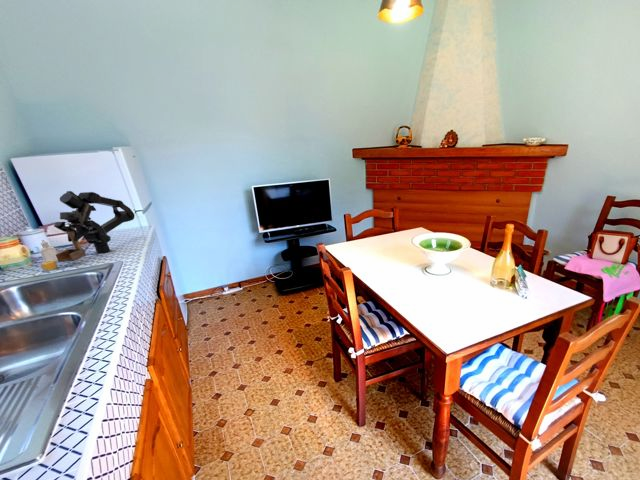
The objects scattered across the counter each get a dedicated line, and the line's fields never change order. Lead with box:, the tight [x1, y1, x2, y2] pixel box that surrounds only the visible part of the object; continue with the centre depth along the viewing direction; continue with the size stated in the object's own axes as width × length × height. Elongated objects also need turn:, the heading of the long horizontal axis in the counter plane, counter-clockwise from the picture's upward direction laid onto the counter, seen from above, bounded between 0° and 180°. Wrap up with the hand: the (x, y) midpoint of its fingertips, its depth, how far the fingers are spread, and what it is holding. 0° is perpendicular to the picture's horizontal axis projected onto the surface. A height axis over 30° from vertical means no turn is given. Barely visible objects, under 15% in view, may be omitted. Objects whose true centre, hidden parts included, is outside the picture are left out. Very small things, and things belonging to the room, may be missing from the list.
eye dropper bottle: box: [38, 239, 58, 263], centre depth 150 cm, size 4×6×12 cm
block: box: [40, 261, 59, 272], centre depth 141 cm, size 4×4×4 cm
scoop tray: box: [56, 231, 87, 263], centre depth 144 cm, size 10×7×12 cm
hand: (72, 241), depth 145 cm, fingers closed on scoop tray, 2 cm apart
